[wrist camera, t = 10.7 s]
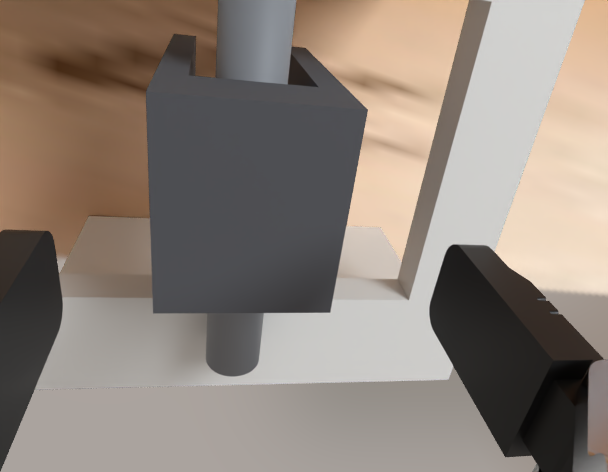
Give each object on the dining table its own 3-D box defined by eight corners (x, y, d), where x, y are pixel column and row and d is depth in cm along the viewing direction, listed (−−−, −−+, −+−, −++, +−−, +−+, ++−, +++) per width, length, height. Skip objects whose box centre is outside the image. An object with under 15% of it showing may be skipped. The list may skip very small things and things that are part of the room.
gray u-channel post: (174, 34, 18) (145, 91, 10) (305, 48, 19) (367, 110, 11) (174, 182, 21) (152, 313, 13) (288, 187, 22) (330, 312, 14)
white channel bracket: (48, -190, 20) (-214, -415, 8) (457, -115, 23) (711, -190, 11) (90, 238, 29) (2, 433, 17) (376, 246, 33) (467, 414, 21)
